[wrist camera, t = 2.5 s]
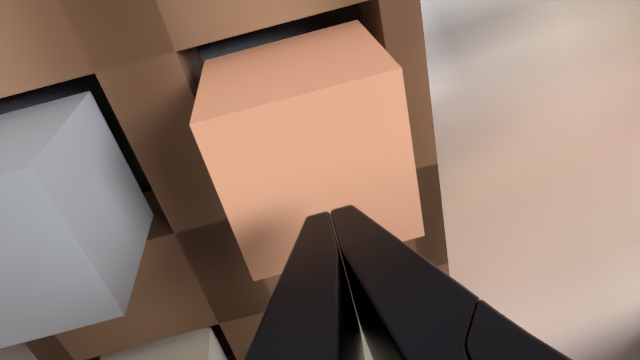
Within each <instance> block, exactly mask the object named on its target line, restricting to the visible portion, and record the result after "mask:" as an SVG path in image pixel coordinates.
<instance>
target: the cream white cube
mask: <svg viewBox="0 0 640 360" xmlns="http://www.w3.org/2000/svg"><path fill="white" fill-rule="evenodd" d="M100 360H228V359H227V357H226V355H225V353H224V351H223V349H222V348H221V346H220V344H219V342H218V340H217V338H216V336H215V334H214V332H213V330H212V328H211V326H210V327H206V328H202V329H199V330H195V331H191V332H187V333H184V334H180V335H176V336H172V337H169V338H165V339H161V340H157V341H154V342H150V343H146V344H142V345H139V346H135V347H131V348H127V349H124V350H120V351H116V352H112V353H109V354H105V355H101V356H100Z"/></svg>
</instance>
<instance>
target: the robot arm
mask: <svg viewBox="0 0 640 360" xmlns="http://www.w3.org/2000/svg"><path fill="white" fill-rule="evenodd" d="M330 215H331V216H330ZM331 218H332V220H331ZM332 222H333V223H332ZM333 226H334V227H333ZM334 230H335V231H334ZM336 237H337V238H336ZM337 241H338V242H337ZM338 245H339V246H338ZM340 252H341V253H340ZM341 256H342V257H341ZM342 260H343V261H342ZM344 267H345V268H344ZM345 271H346V272H345ZM346 275H347V276H346ZM348 282H349V283H348ZM349 286H350V287H349ZM350 290H351V291H350ZM351 293H352V295H351ZM352 297H353V298H352ZM353 301H354V302H353ZM354 305H355V306H354ZM355 308H356V310H355ZM356 312H357V313H356ZM357 316H358V317H357ZM358 319H359V321H358ZM359 323H360V326H361V329H362V332H363V335H364V338H365V340H366V343H367V345H368V348H369V350H370V353H371V355H372V357H373V360H572V359H571V358H569V357H567V356H566V355H564V354H562V353H561V352H559V351H557V350H556V349H554V348H553V347H551V346H549V345H548V344H546V343H544V342H543V341H541V340H539V339H538V338H536V337H535V336H533V335H531V334H530V333H528V332H527V331H526V330H524V329H523V328H521V327H520V326H518V325H517V324H515V323H514V322H512V321H511V320H510V319H508V318H507V317H505V316H504V315H502V314H501V313H499V312H498V311H497V310H495V309H494V308H493V307H491V306H490V305H489V304H487V303H486V302H485V301H483V300H479V298H478V296H476V295H475V294H473V293H472V292H471V291H469V290H468V289H467V288H465V287H464V286H463V285H461V284H460V283H458V282H457V281H456V280H454V279H453V278H452V277H450V276H449V275H448V274H446V273H445V272H443V271H442V270H441V269H439V268H438V267H437V266H435V265H434V264H433V263H431V262H430V261H428V260H427V259H426V258H424V257H423V256H422V255H420V254H419V253H418V252H416V251H415V250H413V249H412V248H411V247H409V246H408V245H407V244H405V243H404V242H403V241H401V240H400V239H398V238H397V237H396V236H394V235H393V234H392V233H390V232H389V231H388V230H386V229H385V228H383V227H382V226H381V225H379V224H378V223H377V222H375V221H374V220H373V219H371V218H370V217H369V216H367V215H366V214H364V213H363V212H362V211H360V210H359V209H358V208H356V207H355V206H353V205H347V206H343V207H340V208H336V209H333V210H332V211H331V212H330V213H329V212H327V211H325V212H321V213H317V214H313V215H310V216H307V217H306V219H305V221H304V223H303V226H302V228H301V230H300V232H299V235H298V237H297V239H296V242H295V244H294V246H293V248H292V251H291V253H290V255H289V258H288V260H287V262H286V264H285V267H284V269H283V271H282V273H281V276H280V278H279V280H278V283H277V285H276V287H275V289H274V292H273V294H272V296H271V299H270V301H269V303H268V305H267V308H266V310H265V312H264V315H263V317H262V319H261V321H260V324H259V326H258V328H257V331H256V333H255V335H254V337H253V340H252V342H251V344H250V347H249V349H248V351H247V353H246V356H245V358H244V360H365V356H364V349H363V342H362V335H361V330H360V326H359Z"/></svg>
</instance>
